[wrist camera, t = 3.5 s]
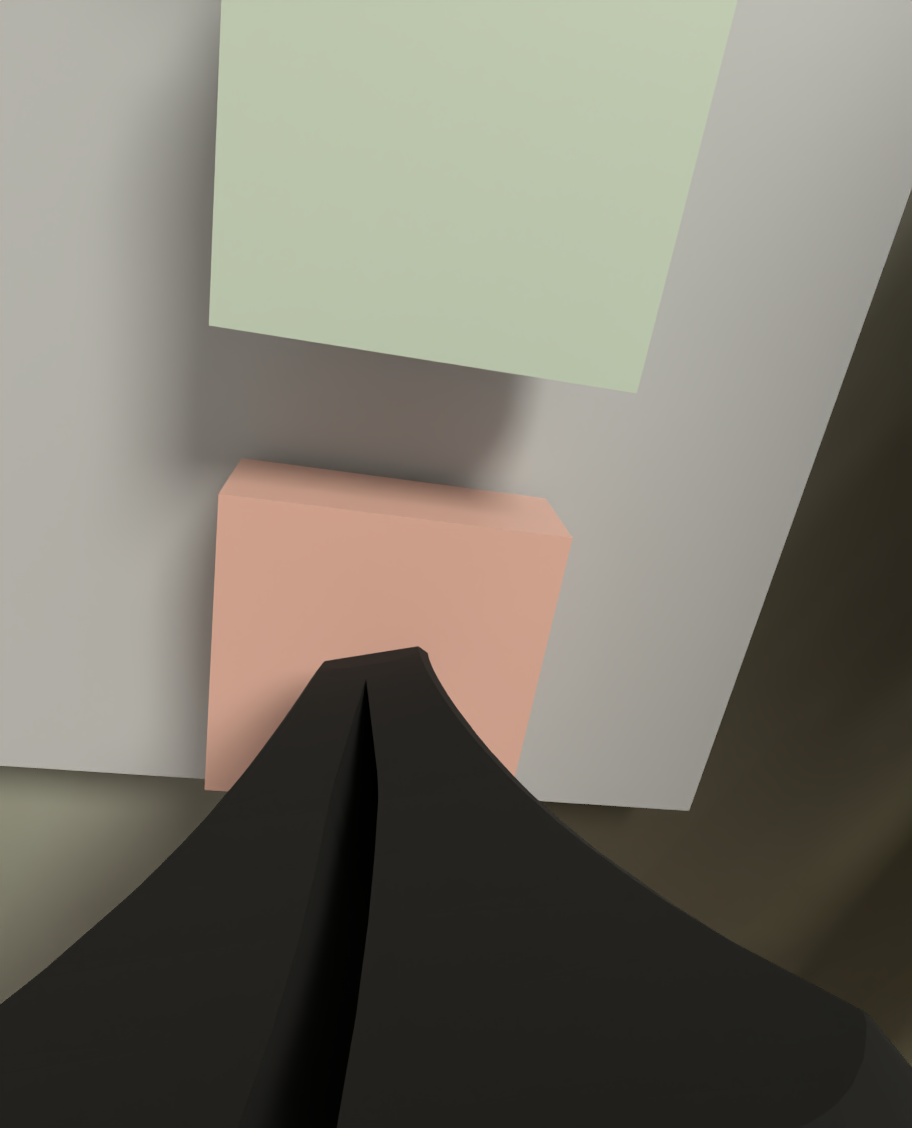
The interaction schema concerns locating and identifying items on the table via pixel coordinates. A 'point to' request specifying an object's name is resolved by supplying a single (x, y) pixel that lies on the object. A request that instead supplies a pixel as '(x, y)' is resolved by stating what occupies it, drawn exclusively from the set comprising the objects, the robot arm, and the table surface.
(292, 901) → the robot arm
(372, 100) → the sage key
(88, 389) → the keyboard base
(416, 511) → the coral key
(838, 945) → the table surface
